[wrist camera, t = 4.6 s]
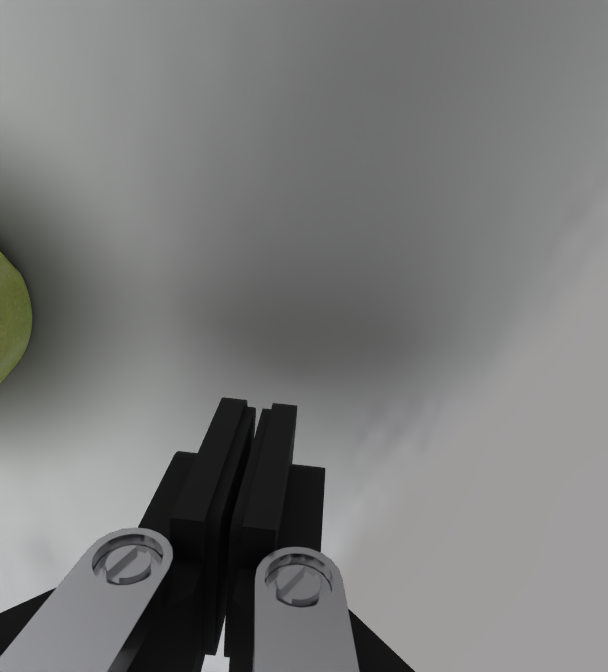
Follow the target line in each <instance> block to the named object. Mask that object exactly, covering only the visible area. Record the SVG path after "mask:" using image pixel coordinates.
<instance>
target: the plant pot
mask: <svg viewBox="0 0 608 672" xmlns="http://www.w3.org/2000/svg"><path fill="white" fill-rule="evenodd" d="M31 329H32V308H31V302H30V297H29V293H28V290H27V287H26V285H25V282H24V279H23V277H22V275H21V274H20V272H19V271H18V270H17V269H15V268H14V267H13V266H12V264H11V263H10V262H9V261H8V260H7V259H6V257H5V256H4V255H3V254H2V253H1V252H0V383H1V382H2V381H3V380H4V379H5V377H6V376H7V375H8V374H9V373H10V372H11V370H12V369H13V368H14V367H15V366H16V364H17V363H18V362H19V361H20V359H21V357H22V356H23V354H24V352H25V351H26V348H27V345H28V343H29V339H30V335H31Z"/></svg>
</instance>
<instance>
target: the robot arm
mask: <svg viewBox="0 0 608 672" xmlns="http://www.w3.org/2000/svg"><path fill="white" fill-rule="evenodd" d="M296 417H297V406H295V405H286V404H277V403H273V405H272V409H263V410H262V413H261V416H260V420H259V424H258V427H257V431H256V434H255V418H256V408H254V407H248V404H247V400H241V399H232V398H222V399H221V401H220V403H219V406H218V408H217V410H216V413H215V415H214V417H213V419H212V422H211V424H210V426H209V429H208V431H207V433H206V435H205V438H204V440H203V442H202V445H201V447H200V449H199V452H198V453H190V452H181V451H178V452H176V453H175V455H174V457H173V459H172V461H171V463H170V465H169V467H168V469H167V471H166V473H165V475H164V477H163V479H162V480H161V482H160V484H159V486H158V488H157V490H156V492H155V494H154V496H153V498H152V500H151V502H150V504H149V506H148V508H147V510H146V512H145V514H144V516H143V518H142V520H141V522H140V524H139V526H138V528H128V529H121V530H118V531H115V532H112V533H109V534H107V535H105V536H104V537H102V538H100V539H98V540H97V541H96V542H95V543H94V544H93V545H92V546H91V547H90V548H89V549H88V550H87V551H86V552H85V554H84V555H83V556H82V557H81V558H80V560H79V561H78V562H77V563H76V565H75V566H74V567H73V568H72V569H71V571H70V572H69V573H68V574H67V576H66V577H65V578H64V579H63V580H62V582H61V583H60V584H59V585H58V587H56V588H54V589H52V590H50V591H48V592H45V593H43V594H41V595H39V596H37V597H35V598H32V599H30V600H28V601H26V602H24V603H21V604H19V605H17V606H15V607H13V608H11V609H8V610H6V611H4V612H2V613H0V672H201V669H202V665H203V661H204V657H205V654H206V655H214V656H215V655H216V652H217V648H218V644H219V640H220V636H221V631H222V627H223V623H224V619H225V615H226V619H225V641H224V657H230V662H229V672H415V671H414V670H413V669H412V668H410V666H408V665H407V664H406V663H405V662H404V661H403V660H402V659H401V658H400V657H399V656H398V655H397V654H396V653H395V652H394V651H393V650H391V648H389V647H388V646H387V645H386V644H385V643H384V642H383V641H382V640H381V639H380V638H379V637H378V636H377V635H376V634H375V633H374V632H373V631H372V630H370V629H369V628H368V627H367V626H366V625H365V624H364V623H363V622H362V621H361V620H360V619H359V618H358V617H357V616H356V615H355V614H353V613H352V612H351V611H350V610H349V609H348V606H347V601H346V595H345V590H344V584H343V579H342V576H341V574H340V571H339V569H338V567H337V566H336V565H335V564H334V562H333V561H332V560H331V559H329V558H328V557H327V556H325V555H324V554H322V553H321V536H322V518H323V501H324V484H325V468H321V467H312V466H304V465H295V464H292V460H293V449H294V438H295V428H296ZM254 434H255V438H254Z"/></svg>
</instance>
